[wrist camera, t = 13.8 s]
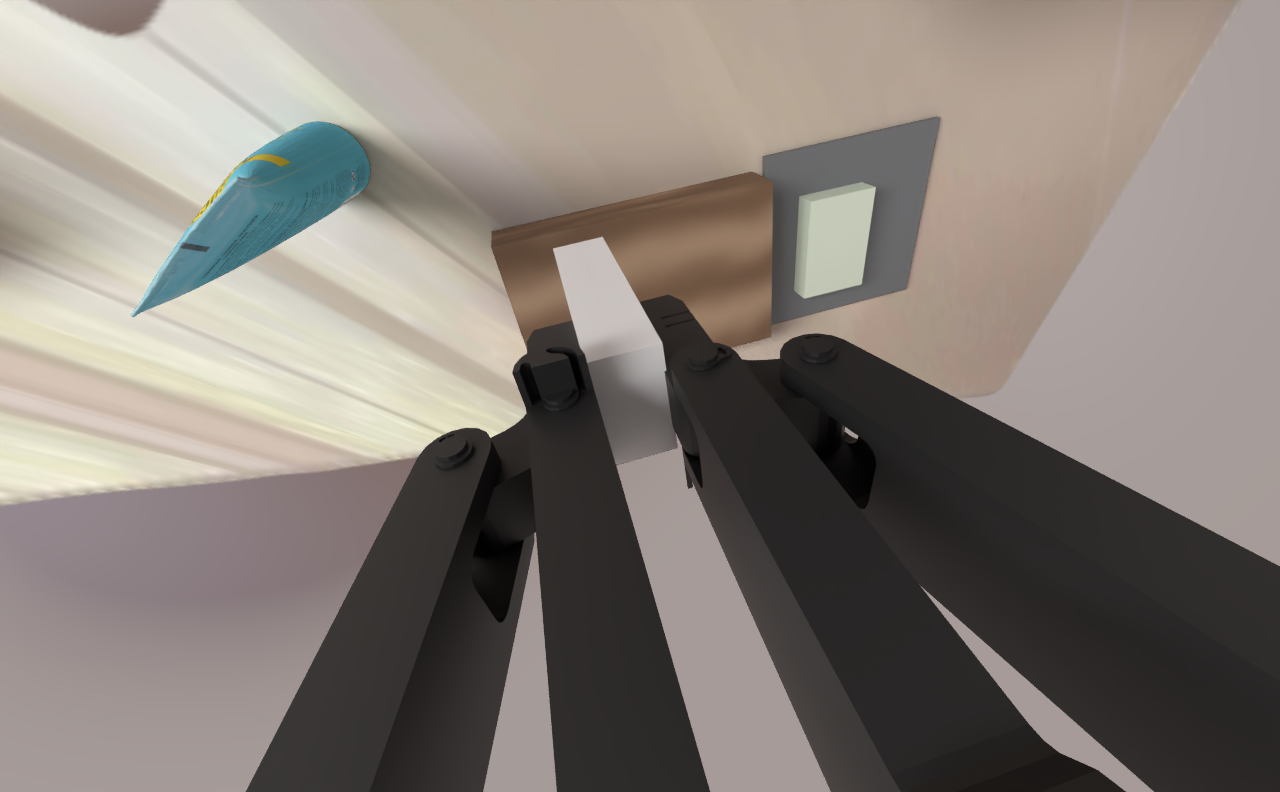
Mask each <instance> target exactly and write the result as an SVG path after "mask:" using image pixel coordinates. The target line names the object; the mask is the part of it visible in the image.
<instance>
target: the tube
mask: <svg viewBox="0 0 1280 792" xmlns="http://www.w3.org/2000/svg"><path fill="white" fill-rule="evenodd" d="M369 178H370V164H369V161H368V158H367V155H366V153H365V151H364V149H363V148H362V146H361V145H360V144H359V142H358V141H357V140H356V139H355V138H354V137H353V136H352V135H351V134H350V133H348V132H347V131H345V130H344V129H342V128H340V127H338V126H336V125H334V124H330V123H326V122H310V123H306V124H304V125H301V126H299V127H297V128H295V129H293V130H291V131H289V132H287V133H286V134H284V135H282V136H280V137H278V138H277V139H275V140H273V141H271V142H270V143H268V144H266V145H265V146H263V147H262V148H260V149H259V150H257V151H256V152H254V153H253V154H251V155H250V156H249V157H247V158H246V159H245V160H244V161H242V162H241V163H240V164H239V165H238V166H237V167H236V168H235V169H234V170H233V171H232V172H231V173H230V174H229V176H228V177H227V178H226V179H225V180H224V182H223V183H222V184H221V186H220V187H219V188H218V189H217V191H216V192H215V193H214V194H213V196H212V197H211V198H210V199H209V201H208V202H207V203H206V205H205V206H204V207H203V208H202V210H201V211H200V213H199V214H198V215H197V217H196V218H195V220H194V221H193V222H192V223H191V225H190V227H189V228H188V229H187V231H186V232H185V234H184V235H183V237H182V238H181V240H180V241H179V242H178V244H177V245H176V247H175V248H174V250H173V251H172V253H171V254H170V255H169V257H168V258H167V260H166V261H165V263H164V264H163V266H162V267H161V269H160V270H159V271H158V273H157V275H156V276H155V278H154V280H153V281H152V283H151V284H150V286H149V288H148V289H147V291H146V293H145V295H144V297H143V299H142V301H141V302H140V304H139V305H138V307H137V308H136V309H135V310H134V311H133V312H132V313H131V317H135V316H136V315H137V314H139V313H141V312H143V311H145V310H148V309H150V308H153V307H155V306H157V305H160V304H162V303H165V302H167V301H170V300H172V299H174V298H177V297H179V296H181V295H183V294H185V293H187V292H190V291H192V290H194V289H196V288H198V287H200V286H202V285H204V284H206V283H208V282H210V281H212V280H214V279H216V278H218V277H220V276H222V275H224V274H226V273H228V272H230V271H232V270H234V269H235V268H237V267H239V266H241V265H243V264H245V263H247V262H248V261H250V260H252V259H254V258H256V257H258V256H259V255H261V254H263V253H265V252H266V251H268V250H270V249H272V248H273V247H275V246H277V245H279V244H280V243H282V242H284V241H285V240H287V239H289V238H291V237H292V236H294V235H296V234H297V233H299V232H301V231H303V230H304V229H306V228H307V227H309V226H311V225H312V224H314V223H316V222H317V221H319V220H321V219H322V218H324V217H326V216H327V215H329V214H330V213H332V212H333V211H335V210H337V209H338V208H340V207H341V206H343V205H344V204H346V203H347V202H349V201H350V200H352V199H353V198H355V197H356V196H357V195H359V194H360V193H361V192H362V191H363V190H364V189H365V187H366V186H367V184H368V181H369Z"/></svg>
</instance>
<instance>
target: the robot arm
mask: <svg viewBox="0 0 1280 792" xmlns="http://www.w3.org/2000/svg"><path fill="white" fill-rule="evenodd" d="M553 251H554V254H555V258H556V262H557V266H558V269H559V273H560V277H561V280H562V284H563V288H564V291H565V295H566V299H567V302H568V306H569V310H570V314H571V317H572V321H568V322H564V323H560V324H556V325H552V326H548V327H544V328H540V329H536V330H533V332H532V334H531V335H530V337H529V339H528V340H527V342H526V343H527V354H526V355H524V356H523V357H521V359H520V360H519V361H518V362H517V363H516V364H515V366H514V369H513V372H512V373H513V376H514V378H515V381H516V383H517V386H518V389H519V391H520V394H521V396H522V399H523V402H524V404H525V407H526V413H527V414H526V415H525V416H524V417H523V419H521V420H520V421H519V422H518V423H517V424H515V425H514V426H512V427H511V428H509V429H507V430H506V431H504V432H502V433H500V434H498V435H496V436H494V437H492V438H490V437H489V435H488V434H487V432H485V431H483V430H480V429H478V428H463V429H459V430H455V431H451V432H449V433H447V434H445V435H442V436H441V437H439V438H437V439H436V440H434V441H433V442H432V443H430V444H429V445H428V446H427V447H425V449H424V450H423V451H422V453H421V454H420V455H419V457H418V458H417V460H416V462H415V464H414V466H413V468H412V470H411V472H410V474H409V476H408V478H407V480H406V482H405V484H404V486H403V488H402V489H401V491H400V493H399V495H398V497H397V499H396V501H395V503H394V505H393V507H392V509H391V511H390V513H389V515H388V517H387V519H386V521H385V522H384V524H383V526H382V528H381V530H380V532H379V534H378V536H377V538H376V540H375V542H374V544H373V546H372V548H371V550H370V552H369V554H368V555H367V558H366V559H365V561H364V563H363V565H362V567H361V569H360V571H359V573H358V575H357V577H356V579H355V581H354V583H353V585H352V587H351V588H350V591H349V592H348V595H347V596H346V598H345V600H344V602H343V604H342V606H341V608H340V610H339V612H338V614H337V616H336V618H335V620H334V622H333V624H332V625H331V627H330V629H329V631H328V633H327V635H326V637H325V639H324V641H323V643H322V645H321V647H320V649H319V651H318V653H317V655H316V656H315V658H314V660H313V662H312V664H311V666H310V668H309V670H308V672H307V674H306V676H305V678H304V680H303V682H302V684H301V686H300V688H299V689H298V691H297V693H296V695H295V698H294V699H293V701H292V703H291V705H290V707H289V709H288V711H287V713H286V715H285V717H284V719H283V721H282V722H281V724H280V727H279V728H278V730H277V732H276V734H275V736H274V738H273V740H272V742H271V744H270V746H269V748H268V750H267V752H266V754H265V756H264V757H263V759H262V761H261V763H260V765H259V767H258V769H257V771H256V773H255V775H254V777H253V779H252V781H251V783H250V785H249V787H248V789H247V790H246V792H483V789H484V784H485V779H486V774H487V769H488V765H489V759H490V755H491V750H492V745H493V740H494V735H495V730H496V726H497V721H498V716H499V711H500V706H501V701H502V696H503V691H504V687H505V681H506V677H507V672H508V667H509V662H510V657H511V652H512V647H513V643H514V638H515V633H516V628H517V623H518V618H519V613H520V609H521V604H522V599H523V593H524V589H525V584H526V579H527V574H528V570H529V565H530V560H531V555H532V550H533V545H534V533H535V532H536V537H537V548H538V562H539V574H540V587H541V599H542V611H543V624H544V636H545V649H546V660H547V674H548V685H549V698H550V710H551V723H552V735H553V748H554V760H555V773H556V785H557V792H710V790H709V786H708V783H707V779H706V776H705V773H704V769H703V766H702V762H701V758H700V755H699V752H698V748H697V745H696V741H695V738H694V734H693V731H692V728H691V724H690V720H689V717H688V713H687V710H686V706H685V703H684V699H683V696H682V693H681V689H680V686H679V682H678V679H677V675H676V672H675V668H674V665H673V662H672V658H671V655H670V651H669V648H668V644H667V641H666V637H665V633H664V630H663V627H662V623H661V620H660V617H659V613H658V609H657V606H656V603H655V599H654V595H653V592H652V588H651V585H650V582H649V578H648V574H647V571H646V568H645V564H644V561H643V557H642V554H641V550H640V547H639V543H638V540H637V536H636V533H635V529H634V526H633V522H632V519H631V516H630V512H629V509H628V505H627V502H626V498H625V495H624V491H623V488H622V484H621V481H620V477H619V474H618V471H617V467H616V465H619V464H623V463H627V462H630V461H633V460H637V459H641V458H644V457H648V456H651V455H655V454H658V453H661V452H665V451H669V450H672V449H676V448H677V447H678V446H677V439H676V434H677V436H678V438H679V440H680V443H681V445H682V450H683V457H684V463H685V471H686V479H687V485H688V488H692V487H693V484H694V486H695V489H696V491H697V493H698V495H699V497H700V500H701V502H702V504H703V507H704V509H705V511H706V513H707V515H708V518H709V520H710V522H711V524H712V527H713V529H714V531H715V533H716V536H717V538H718V540H719V542H720V544H721V547H722V549H723V551H724V553H725V556H726V558H727V560H728V562H729V565H730V567H731V569H732V571H733V574H734V576H735V578H736V580H737V582H738V585H739V587H740V589H741V591H742V593H743V596H744V598H745V600H746V603H747V605H748V607H749V609H750V612H751V614H752V616H753V618H754V621H755V623H756V625H757V627H758V629H759V632H760V634H761V636H762V638H763V641H764V643H765V645H766V647H767V650H768V652H769V654H770V656H771V659H772V661H773V663H774V665H775V668H776V670H777V672H778V674H779V677H780V679H781V681H782V683H783V685H784V688H785V690H786V692H787V694H788V697H789V699H790V701H791V703H792V706H793V708H794V710H795V712H796V715H797V717H798V719H799V721H800V723H801V726H802V728H803V730H804V733H805V734H806V737H807V739H808V741H809V743H810V746H811V748H812V750H813V752H814V755H815V757H816V759H817V762H818V764H819V766H820V768H821V771H822V773H823V775H824V777H825V779H826V782H827V784H828V786H829V788H830V791H831V792H1126V791H1124V790H1123V789H1122V788H1120V787H1119V786H1118V785H1116V784H1115V783H1114V782H1113V781H1111V780H1110V779H1109V778H1107V777H1106V776H1105V775H1103V774H1102V773H1101V772H1099V771H1098V770H1096V769H1094V768H1092V767H1090V766H1087V765H1085V764H1083V763H1081V762H1079V761H1076V760H1074V759H1072V758H1070V757H1067V756H1065V755H1063V754H1061V753H1059V752H1058V751H1056V750H1055V749H1054V748H1053V747H1051V746H1050V745H1049V744H1047V743H1046V742H1045V741H1044V740H1043V739H1042V738H1041V737H1040V736H1039V735H1038V734H1037V733H1036V731H1034V730H1033V728H1032V727H1031V726H1030V725H1029V724H1028V722H1027V721H1026V720H1025V719H1024V717H1023V716H1022V715H1021V714H1020V713H1019V711H1018V710H1017V709H1016V707H1015V706H1014V705H1013V704H1012V702H1011V701H1010V700H1009V698H1008V697H1007V696H1006V694H1005V693H1004V692H1003V691H1002V689H1001V688H1000V687H999V686H998V685H997V683H996V682H995V681H994V679H993V678H992V677H991V675H990V674H989V673H988V672H987V670H986V669H985V668H984V667H983V666H982V664H981V663H980V661H979V660H978V659H977V658H976V657H975V655H974V654H973V653H972V651H971V650H970V649H969V647H968V646H967V645H966V644H965V642H964V641H963V640H962V639H961V637H960V636H959V635H958V633H957V632H956V631H955V630H954V628H953V627H952V626H951V625H950V623H949V622H948V621H947V620H946V618H945V617H944V616H943V615H942V613H941V612H940V611H939V610H938V608H937V607H936V606H935V604H934V603H933V602H932V601H931V599H930V598H929V597H928V595H927V594H926V593H925V592H924V590H923V589H922V588H921V587H923V588H924V589H925V590H926V591H927V592H929V594H931V595H932V596H933V597H934V598H935V599H936V600H937V601H939V602H940V603H941V604H942V605H943V606H944V607H945V608H946V609H948V610H949V611H950V612H951V613H952V614H953V615H954V616H956V617H957V618H958V619H959V620H960V621H961V622H962V623H963V624H965V625H966V626H967V627H968V628H969V629H970V630H972V631H973V632H974V633H975V634H976V635H977V636H978V637H979V638H981V639H982V640H983V641H984V642H985V643H986V644H987V645H988V646H990V647H991V648H992V649H993V650H994V651H995V652H996V653H998V654H999V655H1000V656H1001V657H1002V658H1003V659H1004V660H1005V661H1007V662H1008V663H1009V664H1010V665H1011V666H1012V667H1013V668H1015V669H1016V670H1017V671H1018V672H1019V673H1020V674H1021V675H1022V676H1024V677H1025V678H1026V679H1027V680H1028V681H1029V682H1030V683H1032V684H1033V685H1034V686H1035V687H1036V688H1037V689H1038V690H1040V691H1041V692H1042V693H1043V694H1044V695H1045V696H1046V697H1047V698H1049V699H1050V700H1051V701H1052V702H1053V703H1054V704H1055V705H1056V706H1058V707H1059V708H1060V709H1061V710H1062V711H1063V712H1065V713H1066V714H1067V715H1068V716H1069V717H1070V718H1071V719H1073V721H1075V722H1076V723H1077V724H1078V725H1079V726H1080V727H1082V728H1083V729H1084V730H1085V731H1086V732H1087V733H1088V734H1089V735H1091V736H1092V737H1093V738H1094V739H1095V740H1096V741H1097V742H1099V743H1100V744H1101V745H1102V746H1103V747H1104V748H1105V749H1106V750H1108V751H1109V752H1110V753H1111V754H1112V755H1113V756H1114V757H1116V758H1117V759H1118V760H1119V761H1120V762H1121V763H1122V764H1123V765H1125V766H1126V767H1127V768H1128V769H1129V770H1130V771H1131V772H1133V773H1134V774H1135V775H1136V776H1137V777H1138V778H1139V779H1141V780H1142V781H1143V782H1144V783H1145V784H1146V785H1147V786H1148V787H1149V788H1151V789H1152V790H1153V791H1154V792H1280V566H1278V565H1276V564H1274V563H1272V562H1270V561H1268V560H1266V559H1264V558H1263V557H1260V556H1259V555H1257V554H1255V553H1253V552H1251V551H1249V550H1247V549H1245V548H1243V547H1241V546H1239V545H1238V544H1236V543H1234V542H1232V541H1230V540H1228V539H1226V538H1224V537H1222V536H1220V535H1218V534H1216V533H1214V532H1212V531H1211V530H1208V529H1207V528H1205V527H1203V526H1201V525H1199V524H1197V523H1195V522H1193V521H1191V520H1190V519H1188V518H1186V517H1184V516H1182V515H1180V514H1178V513H1176V512H1174V511H1172V510H1170V509H1168V508H1166V507H1164V506H1163V505H1161V504H1159V503H1157V502H1155V501H1153V500H1151V499H1149V498H1147V497H1145V496H1143V495H1141V494H1140V493H1138V492H1136V491H1134V490H1132V489H1130V488H1128V487H1126V486H1124V485H1122V484H1120V483H1118V482H1116V481H1115V480H1112V479H1111V478H1109V477H1107V476H1105V475H1103V474H1101V473H1099V472H1097V471H1095V470H1093V469H1091V468H1090V467H1088V466H1086V465H1084V464H1082V463H1080V462H1078V461H1076V460H1074V459H1072V458H1070V457H1068V456H1066V455H1065V454H1063V453H1061V452H1059V451H1057V450H1055V449H1053V448H1051V447H1049V446H1047V445H1045V444H1043V443H1042V442H1039V441H1038V440H1036V439H1034V438H1032V437H1030V436H1028V435H1026V434H1024V433H1022V432H1020V431H1018V430H1017V429H1014V428H1013V427H1011V426H1009V425H1007V424H1005V423H1003V422H1001V421H999V420H997V419H995V418H993V417H992V416H990V415H987V414H986V413H984V412H982V411H980V410H978V409H976V408H974V407H972V406H970V405H968V404H966V403H965V402H963V401H961V400H959V399H957V398H955V397H953V396H951V395H949V394H947V393H945V392H944V391H942V390H940V389H938V388H936V387H934V386H932V385H930V384H928V383H926V382H924V381H922V380H920V379H919V378H917V377H915V376H913V375H911V374H909V373H907V372H905V371H903V370H901V369H899V368H897V367H895V366H894V365H892V364H890V363H888V362H886V361H884V360H882V359H880V358H878V357H876V356H874V355H872V354H870V353H869V352H867V351H865V350H863V349H861V348H859V347H857V346H855V345H853V344H851V343H849V342H847V341H845V340H843V339H841V338H838V337H835V336H832V335H825V334H806V335H802V336H798V337H795V338H792V339H791V340H789V341H788V342H786V343H785V344H784V345H783V347H782V349H781V350H780V359H772V360H742V359H741V358H740V356H739V355H738V354H737V353H736V352H735V351H734V350H733V349H732V348H730V347H729V346H726V345H723V344H720V343H713V341H712V340H711V339H710V337H709V336H708V335H707V333H706V332H705V330H704V329H703V328H702V326H701V325H700V324H699V322H698V321H697V320H696V319H695V317H694V316H693V314H692V313H691V312H690V310H689V309H688V308H687V306H686V305H685V303H684V302H683V301H682V300H680V299H677V298H675V297H673V296H671V295H669V294H668V295H665V296H661V297H657V298H653V299H649V300H645V301H641V302H639V301H638V299H637V297H636V295H635V294H634V292H633V290H632V288H631V286H630V285H629V283H628V281H627V279H626V278H625V276H624V274H623V272H622V270H621V269H620V267H619V265H618V263H617V262H616V260H615V258H614V256H613V254H612V253H611V251H610V249H609V247H608V246H607V244H606V242H605V240H604V239H603V237H600V238H595V239H591V240H587V241H583V242H579V243H574V244H570V245H566V246H562V247H557V248H553ZM845 427H847V428H848V429H849V430H851V431H852V432H854V433H855V434H857V435H858V439H856V438H853V437H851V436H850V435H848V434H847V433H846V432H844V431H845ZM692 482H693V484H692Z"/></svg>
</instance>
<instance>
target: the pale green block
mask: <svg viewBox="0 0 1280 792" xmlns="http://www.w3.org/2000/svg"><path fill="white" fill-rule="evenodd" d="M875 190H876V187H874V186H871V185H869V184H866V183H863V182H860V183H856V184H851V185H847V186H843V187H838V188H834V189H829V190H825V191H820V192H816V193H812V194H807V195H803V196H799V210H798V228H797V246H796V264H795V282H794V291H795V292H796V293H798V294H799V295H800V296H801V297H803V298H804V299H805V298H809V297H813V296H817V295H821V294H825V293H829V292H833V291H837V290H841V289H845V288H849V287H853V286H857V285H861V284H862V278H863V272H864V265H865V258H866V251H867V244H868V237H869V231H870V224H871V217H872V210H873V203H874V197H875Z"/></svg>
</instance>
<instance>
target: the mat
mask: <svg viewBox="0 0 1280 792" xmlns="http://www.w3.org/2000/svg"><path fill="white" fill-rule="evenodd" d="M939 121H940V117H933V118H929V119H924V120H920V121H916V122H911V123H907V124H903V125H898V126H894V127H889V128H885V129H881V130H876V131H872V132H867V133H863V134H859V135H854V136H850V137H845V138H841V139H837V140H832V141H828V142H823V143H819V144H815V145H810V146H806V147H802V148H797V149H793V150H788V151H784V152H780V153H775V154H771V155H766V156H763V177H764V178H766V179H768V180H770V181H772V182H773V228H772V301H771V325H772V324H776V323H779V322H783V321H787V320H791V319H795V318H798V317H802V316H806V315H810V314H814V313H817V312H821V311H825V310H829V309H832V308H836V307H840V306H844V305H848V304H851V303H855V302H859V301H863V300H867V299H870V298H874V297H878V296H882V295H886V294H889V293H893V292H897V291H901V290H904V289H906V288H907V283H908V277H909V272H910V267H911V262H912V257H913V252H914V247H915V242H916V237H917V232H918V227H919V222H920V217H921V212H922V207H923V202H924V197H925V192H926V187H927V181H928V176H929V171H930V166H931V161H932V156H933V151H934V146H935V141H936V136H937V131H938V126H939ZM860 182H863V183H866V184H869V185H871V186H874V187H876V190H875V197H874V203H873V210H872V217H871V224H870V231H869V237H868V244H867V251H866V258H865V265H864V272H863V278H862V284H861V285H857V286H853V287H849V288H845V289H841V290H837V291H833V292H829V293H825V294H821V295H817V296H813V297H809V298H805V299H804V298H803V297H801V296H800V295H799V294H798V293H796V292H795V291H794V282H795V264H796V246H797V228H798V210H799V196H803V195H807V194H812V193H816V192H820V191H825V190H829V189H834V188H838V187H843V186H847V185H851V184H856V183H860Z"/></svg>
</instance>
